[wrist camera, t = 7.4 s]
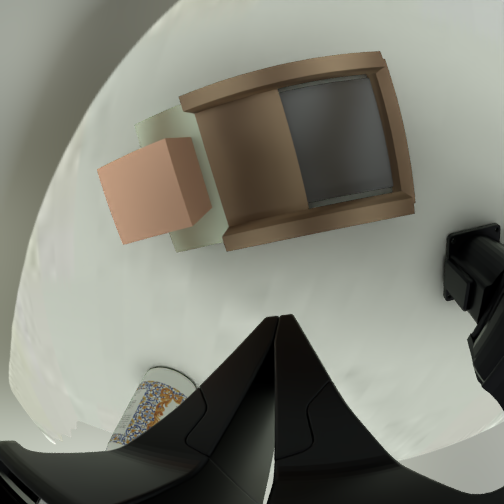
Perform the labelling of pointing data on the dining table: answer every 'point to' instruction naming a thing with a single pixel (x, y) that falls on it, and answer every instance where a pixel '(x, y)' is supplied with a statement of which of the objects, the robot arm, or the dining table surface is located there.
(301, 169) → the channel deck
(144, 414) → the bath foam
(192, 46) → the dining table surface
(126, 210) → the block
